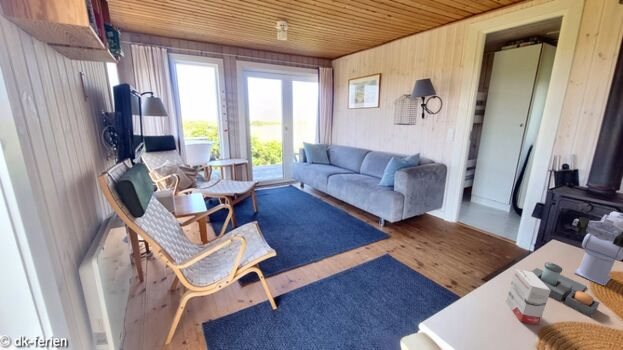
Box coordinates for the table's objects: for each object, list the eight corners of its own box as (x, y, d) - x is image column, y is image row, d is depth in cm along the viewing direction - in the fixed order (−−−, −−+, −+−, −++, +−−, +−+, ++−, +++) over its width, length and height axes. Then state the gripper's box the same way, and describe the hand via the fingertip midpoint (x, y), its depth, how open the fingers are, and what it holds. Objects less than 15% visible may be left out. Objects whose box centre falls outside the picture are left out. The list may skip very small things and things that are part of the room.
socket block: (534, 273, 95) (536, 267, 95) (570, 290, 87) (573, 284, 86) (522, 282, 90) (524, 276, 89) (559, 301, 82) (562, 294, 81)
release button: (575, 296, 82) (578, 289, 82) (592, 304, 79) (595, 297, 79) (571, 300, 80) (574, 293, 80) (588, 308, 77) (591, 301, 77)
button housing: (570, 296, 84) (573, 290, 84) (596, 309, 79) (599, 302, 79) (564, 303, 81) (566, 296, 80) (590, 316, 76) (593, 310, 76)
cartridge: (541, 280, 92) (547, 261, 89) (557, 288, 88) (564, 268, 86) (535, 284, 89) (542, 264, 87) (552, 292, 86) (559, 272, 84)
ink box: (539, 326, 72) (552, 290, 69) (520, 322, 73) (532, 287, 70) (522, 303, 80) (533, 270, 77) (504, 300, 81) (514, 268, 78)
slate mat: (559, 275, 95) (560, 274, 95) (586, 287, 89) (586, 286, 89) (552, 281, 91) (552, 280, 91) (579, 294, 86) (579, 293, 86)
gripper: (583, 209, 92) (570, 213, 85) (647, 227, 80) (639, 234, 73) (575, 227, 93) (562, 233, 86) (637, 248, 82) (628, 256, 75)
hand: (597, 235), depth 80 cm, fingers open, 7 cm apart
